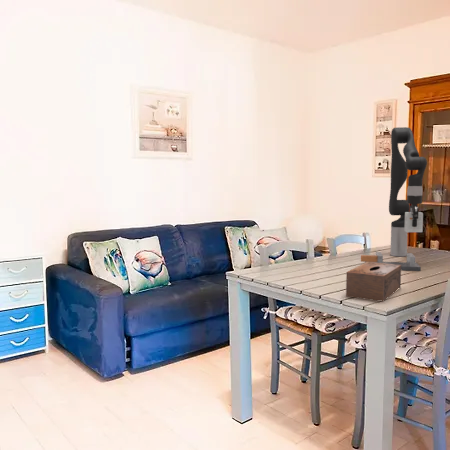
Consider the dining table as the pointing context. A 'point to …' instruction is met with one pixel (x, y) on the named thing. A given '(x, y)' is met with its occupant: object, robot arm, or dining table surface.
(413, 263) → the vise
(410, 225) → the small box
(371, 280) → the tissue box cover
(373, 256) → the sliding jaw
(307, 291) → the dining table surface
